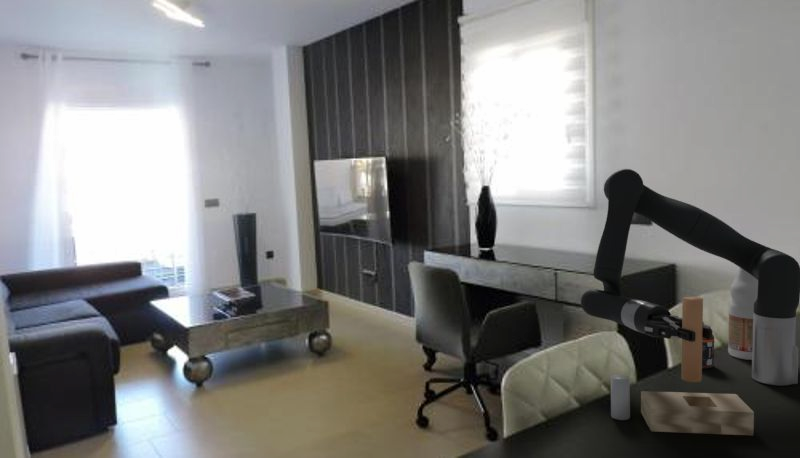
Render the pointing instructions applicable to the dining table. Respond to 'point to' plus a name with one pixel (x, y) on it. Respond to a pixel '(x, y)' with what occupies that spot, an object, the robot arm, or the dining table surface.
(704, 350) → the supplement bottle
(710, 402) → the wooden block with hole
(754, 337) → the robot arm
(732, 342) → the white plastic bottle
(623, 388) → the short dowel
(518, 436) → the dining table surface
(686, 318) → the long dowel
